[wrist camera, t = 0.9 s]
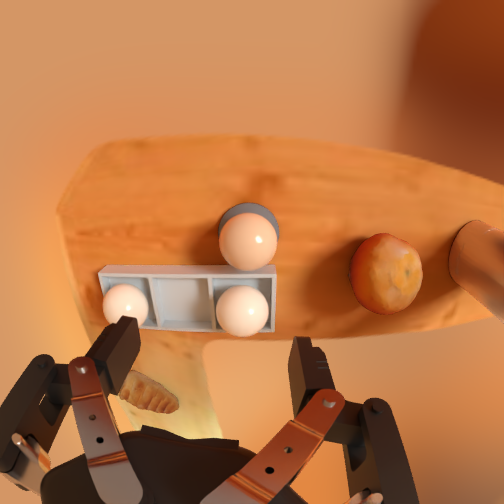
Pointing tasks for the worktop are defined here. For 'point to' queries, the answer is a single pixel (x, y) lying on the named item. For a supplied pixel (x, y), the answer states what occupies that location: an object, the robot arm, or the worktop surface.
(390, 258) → the fruit
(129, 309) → the egg
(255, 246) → the pale pink ball
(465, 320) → the worktop surface
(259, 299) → the egg
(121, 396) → the pastry
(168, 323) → the carton
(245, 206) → the mat
